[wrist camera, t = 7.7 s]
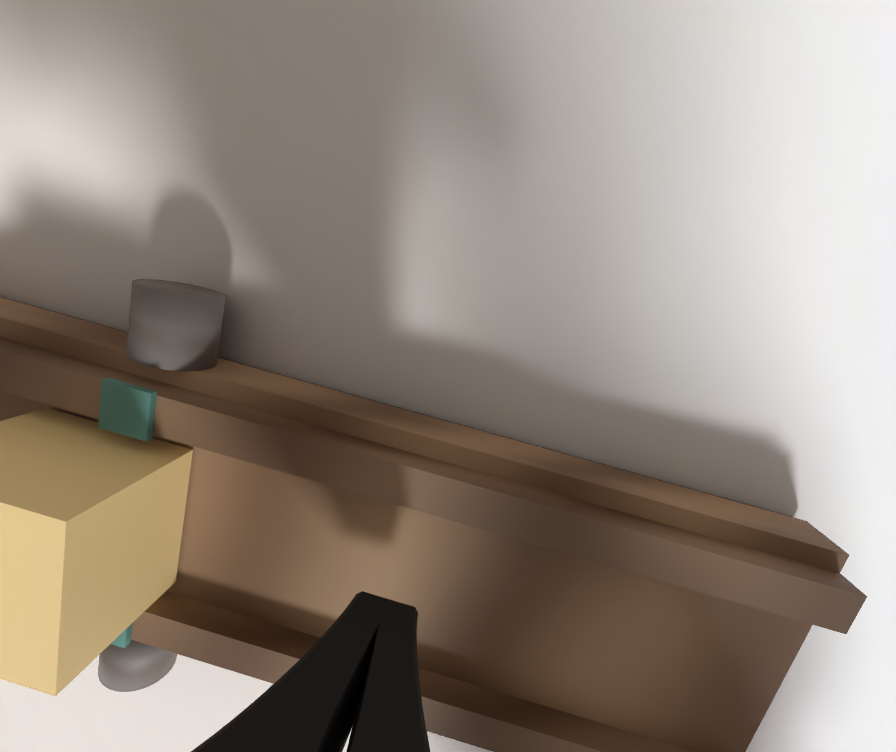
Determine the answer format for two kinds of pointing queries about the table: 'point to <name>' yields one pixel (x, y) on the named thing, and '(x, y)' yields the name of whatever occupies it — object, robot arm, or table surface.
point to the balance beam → (435, 546)
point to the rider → (81, 540)
